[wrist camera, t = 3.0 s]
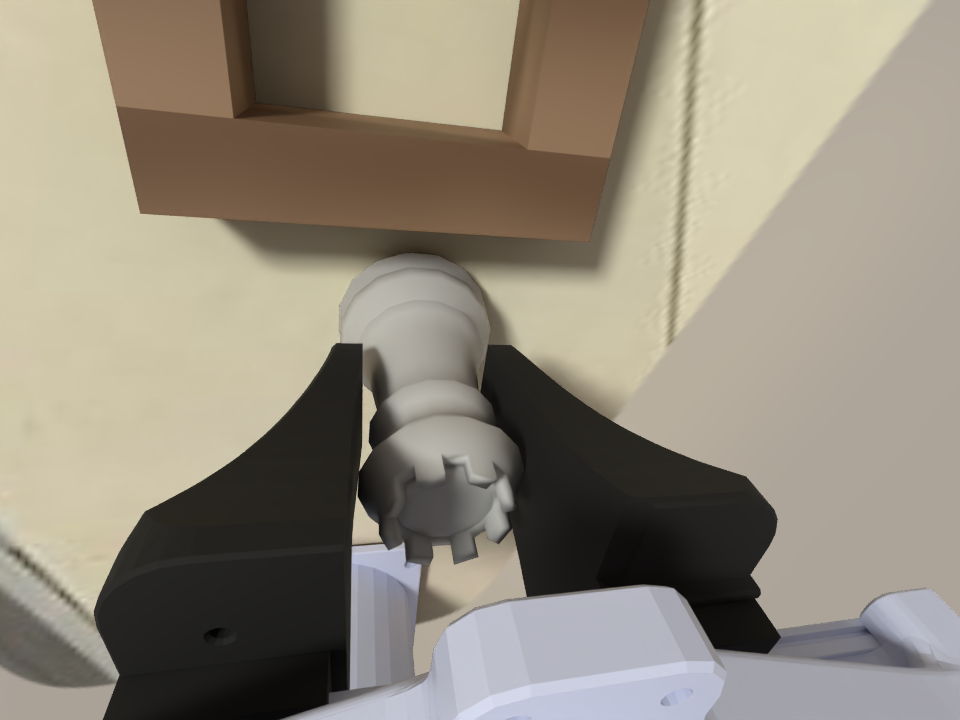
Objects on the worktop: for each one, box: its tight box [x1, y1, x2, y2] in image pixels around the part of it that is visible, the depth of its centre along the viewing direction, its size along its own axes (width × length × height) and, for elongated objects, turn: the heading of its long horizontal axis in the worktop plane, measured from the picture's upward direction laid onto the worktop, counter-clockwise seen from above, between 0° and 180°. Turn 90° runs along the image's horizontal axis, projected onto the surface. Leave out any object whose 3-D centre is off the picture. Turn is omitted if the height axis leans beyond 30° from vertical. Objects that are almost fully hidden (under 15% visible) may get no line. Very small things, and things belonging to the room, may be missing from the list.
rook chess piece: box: [339, 252, 524, 566], centre depth 12 cm, size 4×4×8 cm
